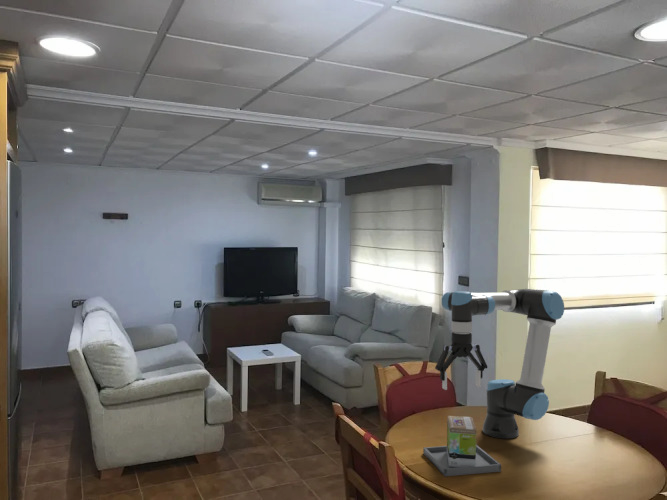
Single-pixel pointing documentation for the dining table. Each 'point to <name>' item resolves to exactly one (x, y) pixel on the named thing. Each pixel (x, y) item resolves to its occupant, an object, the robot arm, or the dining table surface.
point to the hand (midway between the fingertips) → (461, 388)
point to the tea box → (461, 441)
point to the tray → (441, 463)
